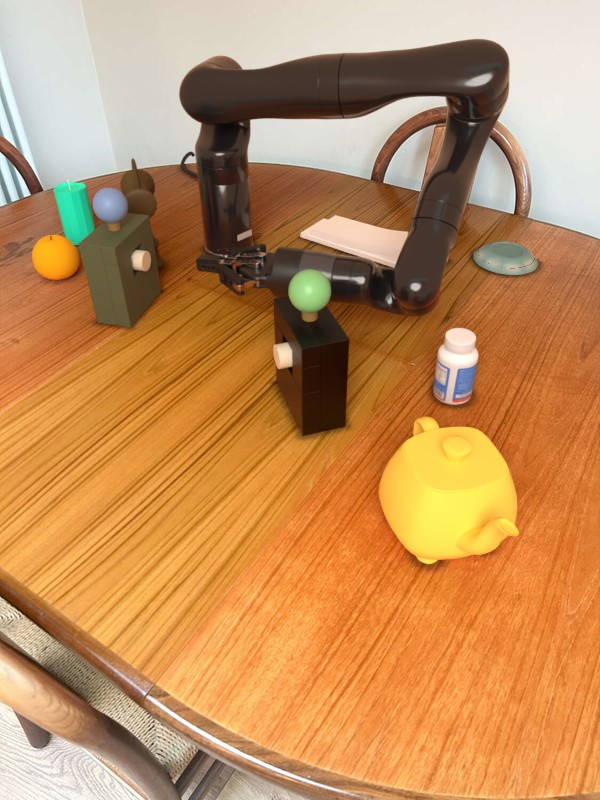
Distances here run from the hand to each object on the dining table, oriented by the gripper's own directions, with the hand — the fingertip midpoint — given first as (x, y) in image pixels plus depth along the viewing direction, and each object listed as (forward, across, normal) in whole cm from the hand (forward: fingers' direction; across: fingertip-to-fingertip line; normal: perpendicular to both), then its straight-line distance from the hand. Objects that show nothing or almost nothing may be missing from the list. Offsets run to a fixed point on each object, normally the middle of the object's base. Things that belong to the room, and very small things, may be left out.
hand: (198, 262), depth 102 cm
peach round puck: (+10, 0, -3) cm, 10 cm away
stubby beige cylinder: (-20, -19, -3) cm, 27 cm away
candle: (+35, +21, -10) cm, 42 cm away
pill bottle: (-41, -10, -10) cm, 44 cm away
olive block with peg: (+13, 0, -10) cm, 17 cm away
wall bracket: (-22, +30, -6) cm, 38 cm away
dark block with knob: (-22, -17, -10) cm, 30 cm away
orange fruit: (+31, +7, -10) cm, 33 cm away
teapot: (-43, -36, -10) cm, 57 cm away
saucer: (-47, +32, -8) cm, 58 cm away
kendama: (+16, +14, -10) cm, 23 cm away
